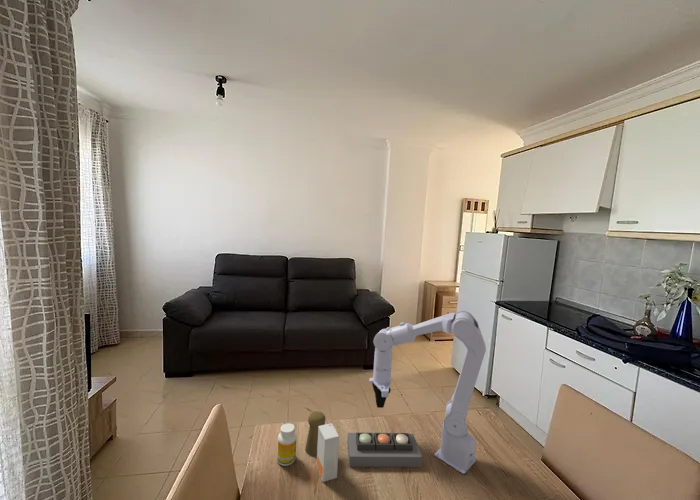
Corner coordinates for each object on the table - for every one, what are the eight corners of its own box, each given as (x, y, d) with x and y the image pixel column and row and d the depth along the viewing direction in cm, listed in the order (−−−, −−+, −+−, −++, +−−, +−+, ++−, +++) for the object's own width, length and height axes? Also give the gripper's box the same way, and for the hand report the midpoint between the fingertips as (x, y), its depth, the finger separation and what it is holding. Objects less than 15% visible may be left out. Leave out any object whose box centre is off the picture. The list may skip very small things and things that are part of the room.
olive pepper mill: (315, 459, 87) (317, 423, 86) (301, 449, 91) (302, 414, 90) (329, 448, 92) (331, 413, 91) (315, 439, 95) (316, 405, 95)
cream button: (406, 438, 93) (406, 434, 93) (409, 447, 89) (409, 442, 89) (394, 438, 93) (395, 433, 93) (397, 447, 89) (397, 442, 89)
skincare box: (315, 466, 85) (317, 425, 84) (330, 462, 86) (332, 422, 86) (322, 483, 79) (324, 439, 78) (337, 478, 81) (340, 436, 80)
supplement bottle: (275, 454, 88) (277, 423, 88) (293, 451, 90) (295, 420, 89) (277, 468, 83) (279, 435, 82) (297, 464, 85) (298, 431, 84)
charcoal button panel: (412, 442, 97) (413, 428, 96) (421, 466, 87) (422, 451, 86) (347, 441, 95) (348, 427, 95) (349, 466, 85) (350, 450, 85)
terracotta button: (388, 438, 93) (388, 433, 92) (390, 447, 89) (390, 441, 89) (376, 438, 92) (377, 433, 92) (378, 447, 89) (378, 441, 89)
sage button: (370, 438, 92) (370, 433, 92) (371, 446, 89) (372, 441, 88) (358, 438, 92) (358, 433, 92) (359, 446, 88) (360, 441, 88)
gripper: (367, 356, 105) (365, 394, 106) (373, 376, 91) (370, 420, 92) (387, 357, 106) (385, 394, 107) (396, 377, 91) (393, 420, 92)
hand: (379, 406), depth 99 cm, fingers closed
